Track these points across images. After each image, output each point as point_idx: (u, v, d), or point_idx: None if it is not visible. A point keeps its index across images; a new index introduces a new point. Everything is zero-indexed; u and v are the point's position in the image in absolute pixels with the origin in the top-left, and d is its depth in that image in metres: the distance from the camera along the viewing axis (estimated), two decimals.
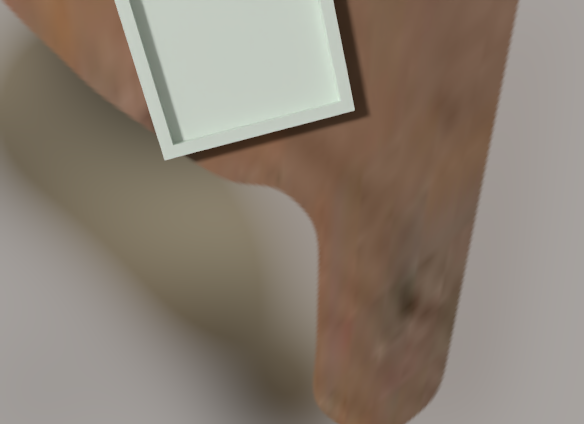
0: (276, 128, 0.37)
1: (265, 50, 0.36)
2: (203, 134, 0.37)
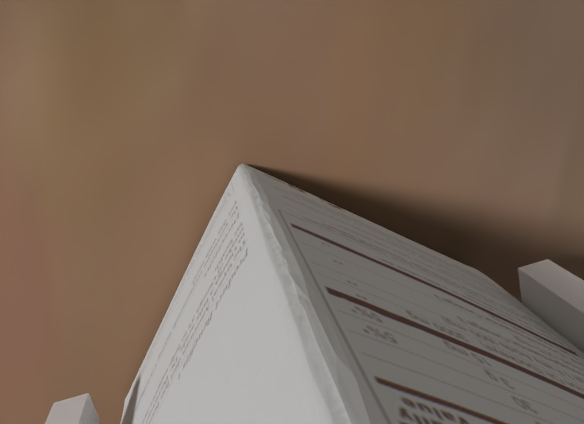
0: None
1: None
2: None
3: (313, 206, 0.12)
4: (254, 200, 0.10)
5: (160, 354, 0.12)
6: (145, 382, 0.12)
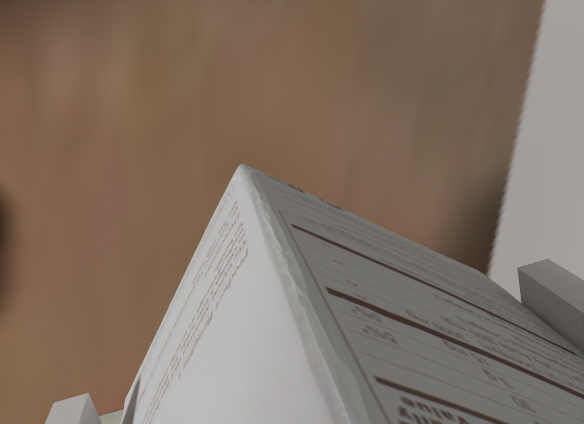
0: None
1: None
2: None
3: (313, 206, 0.12)
4: (254, 200, 0.10)
5: (160, 354, 0.12)
6: (145, 382, 0.12)
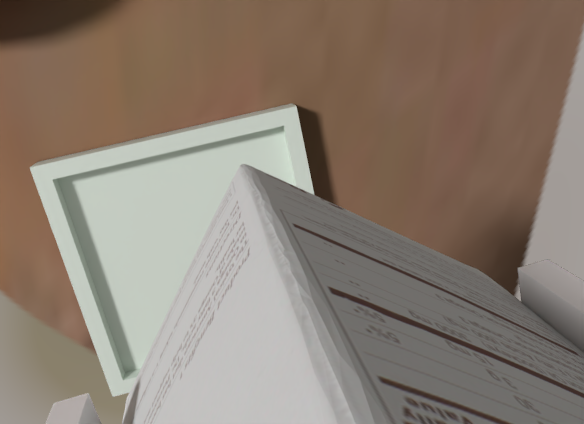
0: None
1: None
2: None
3: (314, 206, 0.12)
4: (256, 200, 0.10)
5: (162, 354, 0.12)
6: (146, 382, 0.12)
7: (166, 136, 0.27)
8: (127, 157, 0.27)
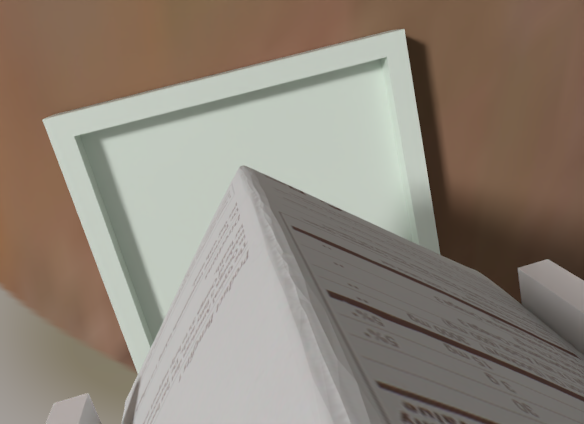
0: None
1: None
2: None
3: (314, 208, 0.12)
4: (255, 202, 0.10)
5: (161, 356, 0.12)
6: (146, 384, 0.12)
7: (228, 73, 0.19)
8: (176, 103, 0.19)
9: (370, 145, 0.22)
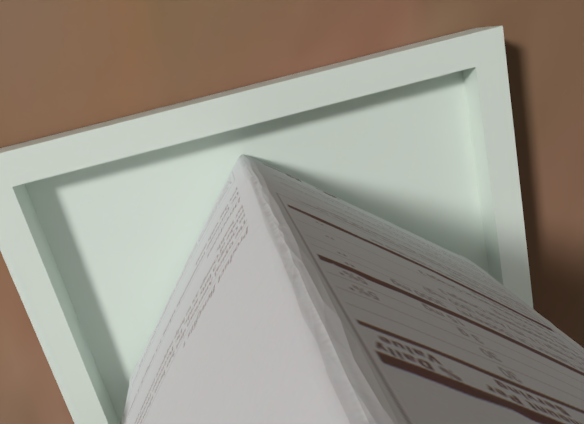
0: None
1: None
2: None
3: (309, 193, 0.12)
4: (254, 185, 0.11)
5: (165, 331, 0.12)
6: (150, 358, 0.13)
7: (244, 92, 0.13)
8: (165, 137, 0.13)
9: (443, 192, 0.15)
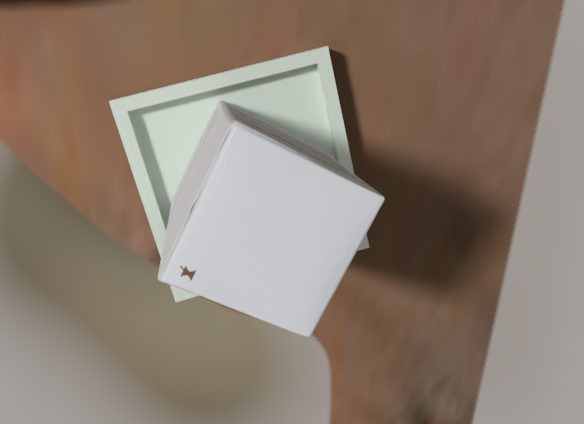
0: None
1: None
2: None
3: (245, 112, 0.31)
4: (222, 105, 0.30)
5: (188, 167, 0.31)
6: (182, 180, 0.32)
7: (220, 73, 0.32)
8: (188, 91, 0.32)
9: (311, 119, 0.34)
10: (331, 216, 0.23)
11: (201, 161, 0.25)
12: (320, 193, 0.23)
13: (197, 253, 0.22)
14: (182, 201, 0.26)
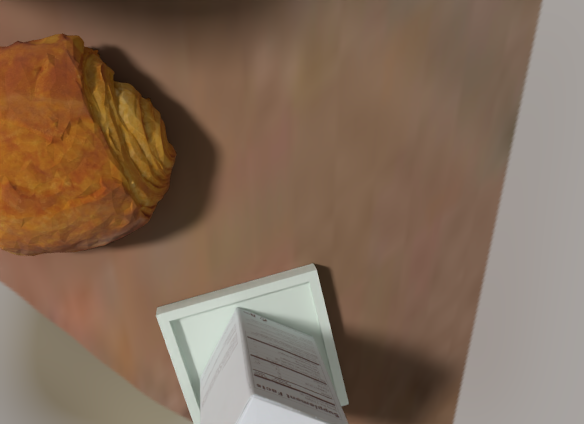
0: None
1: None
2: None
3: (256, 324, 0.43)
4: (239, 327, 0.41)
5: (214, 364, 0.43)
6: (209, 371, 0.43)
7: (237, 292, 0.44)
8: (214, 305, 0.44)
9: (304, 315, 0.46)
10: None
11: (227, 393, 0.37)
12: None
13: None
14: (214, 417, 0.37)
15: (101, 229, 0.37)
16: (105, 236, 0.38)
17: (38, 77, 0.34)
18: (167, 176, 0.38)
